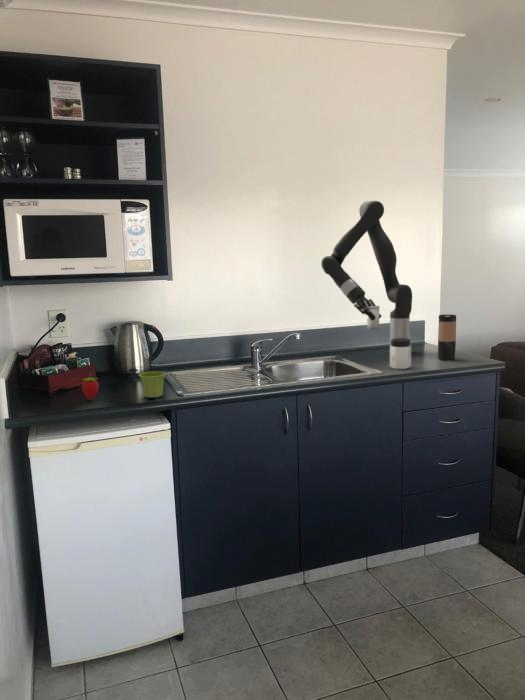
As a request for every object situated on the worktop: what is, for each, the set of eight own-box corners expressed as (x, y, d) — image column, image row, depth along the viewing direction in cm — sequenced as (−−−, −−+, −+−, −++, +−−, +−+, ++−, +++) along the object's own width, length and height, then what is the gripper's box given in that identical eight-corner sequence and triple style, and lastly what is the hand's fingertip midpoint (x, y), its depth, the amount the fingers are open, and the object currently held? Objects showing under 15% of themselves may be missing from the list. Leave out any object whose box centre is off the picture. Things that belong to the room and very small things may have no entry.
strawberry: (99, 397, 207) (97, 370, 205) (100, 402, 200) (98, 374, 198) (82, 399, 205) (80, 372, 203) (83, 404, 198) (80, 376, 196)
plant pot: (142, 394, 208) (140, 371, 207) (168, 393, 209) (166, 370, 208) (138, 401, 199) (137, 377, 198) (165, 399, 200) (164, 376, 198)
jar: (386, 366, 244) (386, 339, 242) (401, 364, 247) (401, 337, 245) (398, 370, 236) (399, 341, 234) (414, 367, 239) (415, 340, 237)
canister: (374, 327, 254) (374, 305, 252) (381, 329, 249) (381, 306, 247) (364, 328, 252) (364, 306, 250) (371, 330, 247) (371, 307, 245)
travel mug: (457, 358, 256) (458, 314, 253) (452, 361, 250) (454, 316, 247) (440, 357, 261) (441, 314, 257) (435, 360, 254) (436, 316, 251)
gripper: (350, 286, 246) (375, 314, 241) (365, 284, 257) (389, 311, 252) (339, 298, 250) (364, 326, 245) (354, 295, 261) (378, 322, 256)
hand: (377, 318), depth 249 cm, fingers closed on canister, 5 cm apart
